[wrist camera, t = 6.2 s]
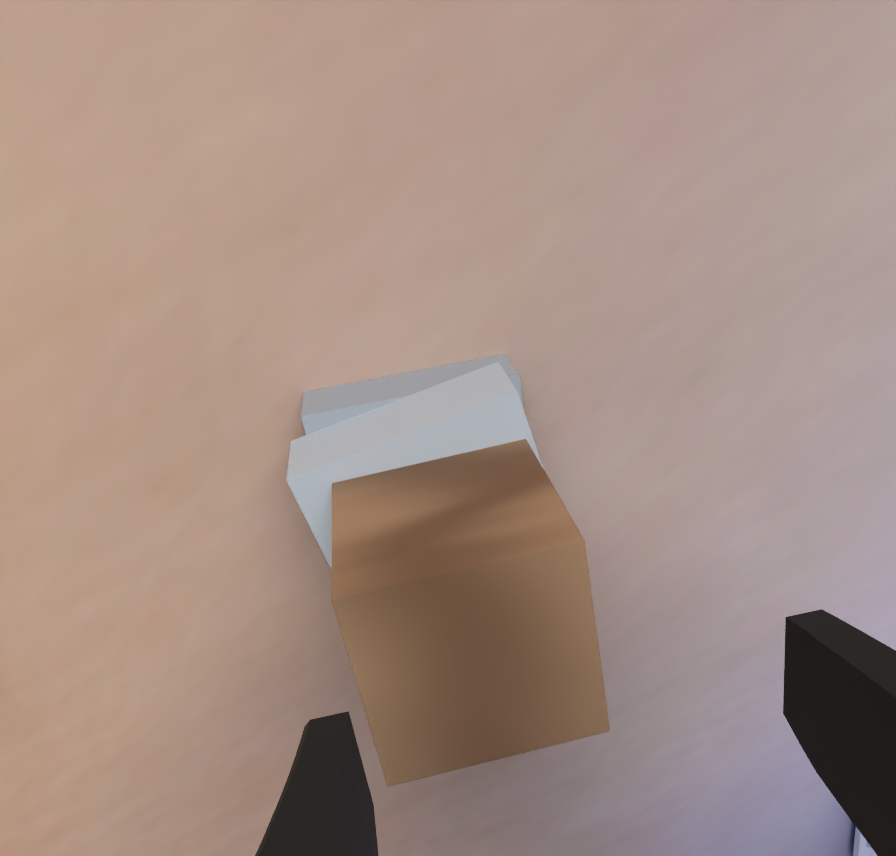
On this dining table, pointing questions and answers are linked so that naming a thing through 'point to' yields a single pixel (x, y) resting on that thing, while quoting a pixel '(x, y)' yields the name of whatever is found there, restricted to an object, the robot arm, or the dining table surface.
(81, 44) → the dining table surface
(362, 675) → the walnut cube
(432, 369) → the tower base
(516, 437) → the tower top
